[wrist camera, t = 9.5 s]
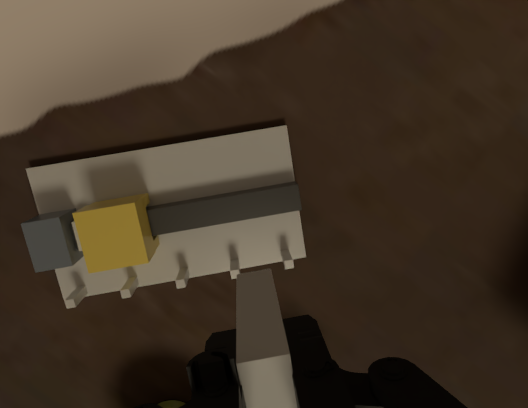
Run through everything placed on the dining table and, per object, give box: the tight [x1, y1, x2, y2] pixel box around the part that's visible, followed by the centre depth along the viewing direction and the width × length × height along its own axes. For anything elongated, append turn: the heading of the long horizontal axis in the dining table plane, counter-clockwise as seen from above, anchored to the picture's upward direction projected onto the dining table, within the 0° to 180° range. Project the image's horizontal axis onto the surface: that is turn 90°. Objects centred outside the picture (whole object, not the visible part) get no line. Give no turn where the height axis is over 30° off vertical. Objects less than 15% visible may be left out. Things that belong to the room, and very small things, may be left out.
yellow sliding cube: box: [72, 193, 160, 273], centre depth 35 cm, size 5×5×5 cm
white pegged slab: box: [21, 125, 306, 308], centre depth 37 cm, size 24×13×5 cm, turn 99°
